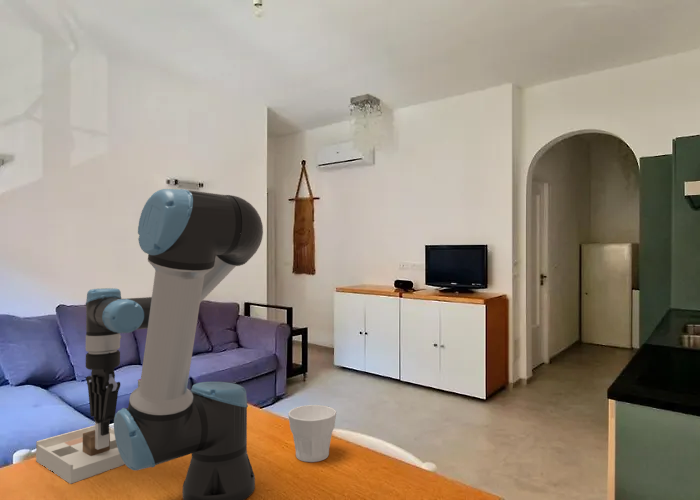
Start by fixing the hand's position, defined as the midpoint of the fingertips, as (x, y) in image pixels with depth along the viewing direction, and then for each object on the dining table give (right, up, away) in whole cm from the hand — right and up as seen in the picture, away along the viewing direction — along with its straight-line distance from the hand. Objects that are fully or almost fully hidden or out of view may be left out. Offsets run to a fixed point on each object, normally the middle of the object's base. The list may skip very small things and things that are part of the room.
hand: (102, 447), depth 112 cm
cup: (+51, -5, +6) cm, 52 cm away
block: (-2, -2, +2) cm, 3 cm away
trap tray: (-5, -5, +4) cm, 8 cm away
